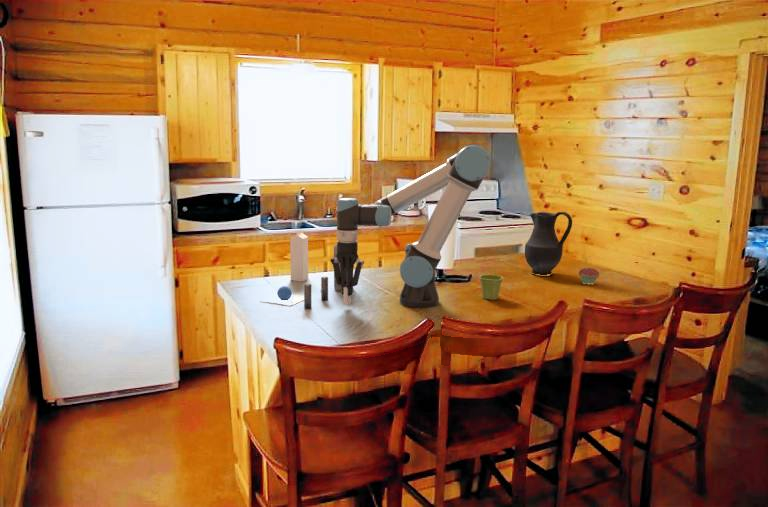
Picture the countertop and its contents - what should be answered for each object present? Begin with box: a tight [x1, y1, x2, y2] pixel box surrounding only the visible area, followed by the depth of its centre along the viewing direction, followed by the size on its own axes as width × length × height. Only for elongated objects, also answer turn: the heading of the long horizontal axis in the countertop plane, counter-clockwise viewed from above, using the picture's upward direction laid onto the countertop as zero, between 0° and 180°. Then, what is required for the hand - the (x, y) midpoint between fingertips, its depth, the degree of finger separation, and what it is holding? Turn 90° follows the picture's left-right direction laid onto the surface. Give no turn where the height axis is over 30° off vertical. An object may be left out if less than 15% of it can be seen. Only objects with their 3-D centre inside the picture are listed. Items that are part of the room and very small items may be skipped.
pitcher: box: [524, 211, 573, 275], centre depth 284 cm, size 17×21×30 cm
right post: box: [320, 276, 329, 302], centre depth 238 cm, size 3×3×9 cm
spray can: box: [333, 244, 347, 292], centre depth 253 cm, size 8×8×20 cm
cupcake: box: [578, 258, 600, 284], centre depth 270 cm, size 9×8×12 cm
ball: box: [276, 285, 293, 300], centre depth 237 cm, size 6×6×6 cm
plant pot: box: [478, 274, 504, 301], centre depth 245 cm, size 9×9×9 cm
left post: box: [303, 283, 312, 310], centre depth 227 cm, size 3×3×9 cm
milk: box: [289, 228, 309, 282], centre depth 268 cm, size 6×6×22 cm
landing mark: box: [281, 294, 304, 306], centre depth 239 cm, size 14×14×1 cm
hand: (347, 303), depth 228 cm, fingers closed
